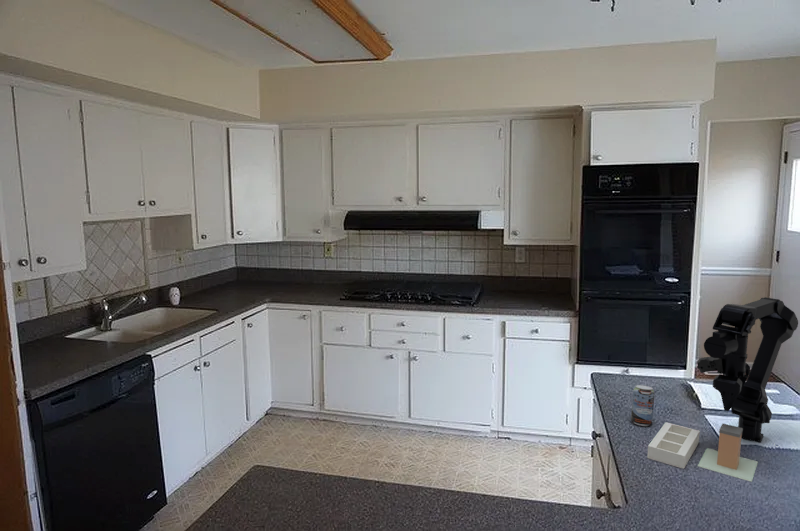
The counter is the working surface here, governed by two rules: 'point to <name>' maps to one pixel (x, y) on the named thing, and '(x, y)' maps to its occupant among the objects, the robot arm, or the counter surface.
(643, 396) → the beverage can
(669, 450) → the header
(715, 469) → the mat
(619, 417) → the counter surface
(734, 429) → the tan rectangular block
